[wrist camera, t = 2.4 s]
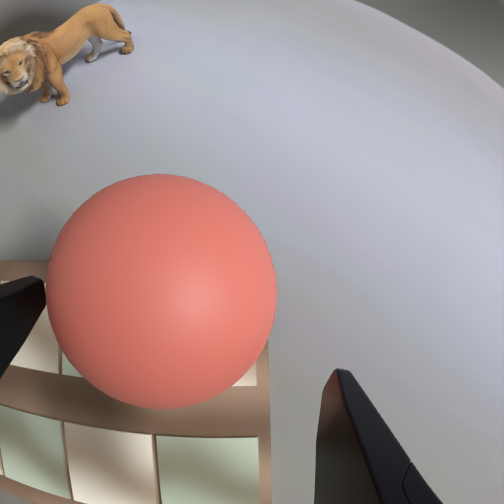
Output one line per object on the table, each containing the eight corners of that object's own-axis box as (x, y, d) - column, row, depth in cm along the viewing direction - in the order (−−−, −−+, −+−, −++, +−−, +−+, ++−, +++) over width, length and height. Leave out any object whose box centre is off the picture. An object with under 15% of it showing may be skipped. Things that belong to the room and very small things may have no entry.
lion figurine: (44, 142, 21) (-4, 66, 13) (14, 127, 22) (-30, 61, 13) (149, 39, 26) (137, -34, 17) (113, 33, 26) (97, -33, 18)
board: (269, 526, 14) (272, 536, 12) (-36, 463, 12) (-46, 465, 11) (262, 267, 19) (265, 260, 17) (-36, 264, 17) (-47, 259, 16)
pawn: (254, 383, 15) (332, 452, 3) (155, 382, 15) (-22, 415, 3) (252, 287, 17) (302, 108, 5) (157, 287, 17) (26, 126, 5)
